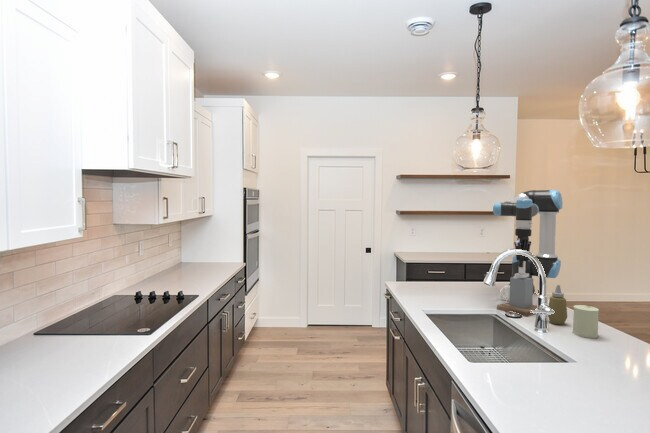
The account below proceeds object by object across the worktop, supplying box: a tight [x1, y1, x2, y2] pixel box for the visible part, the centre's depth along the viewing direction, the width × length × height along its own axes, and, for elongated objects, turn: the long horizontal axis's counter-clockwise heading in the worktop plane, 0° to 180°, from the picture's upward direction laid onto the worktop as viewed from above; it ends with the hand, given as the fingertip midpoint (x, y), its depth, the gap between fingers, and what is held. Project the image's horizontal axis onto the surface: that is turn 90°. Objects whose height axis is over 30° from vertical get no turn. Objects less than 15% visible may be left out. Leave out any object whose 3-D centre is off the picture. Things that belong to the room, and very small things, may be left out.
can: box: [572, 304, 600, 339], centre depth 165 cm, size 9×9×12 cm
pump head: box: [514, 273, 529, 279], centre depth 199 cm, size 10×4×10 cm, turn 125°
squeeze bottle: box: [547, 284, 568, 326], centre depth 179 cm, size 8×8×18 cm
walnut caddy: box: [496, 301, 538, 317], centre depth 201 cm, size 18×16×2 cm
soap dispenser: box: [508, 276, 534, 309], centre depth 201 cm, size 8×8×15 cm
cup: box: [499, 284, 510, 302], centre depth 221 cm, size 7×10×8 cm
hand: (521, 273), depth 200 cm, fingers closed
